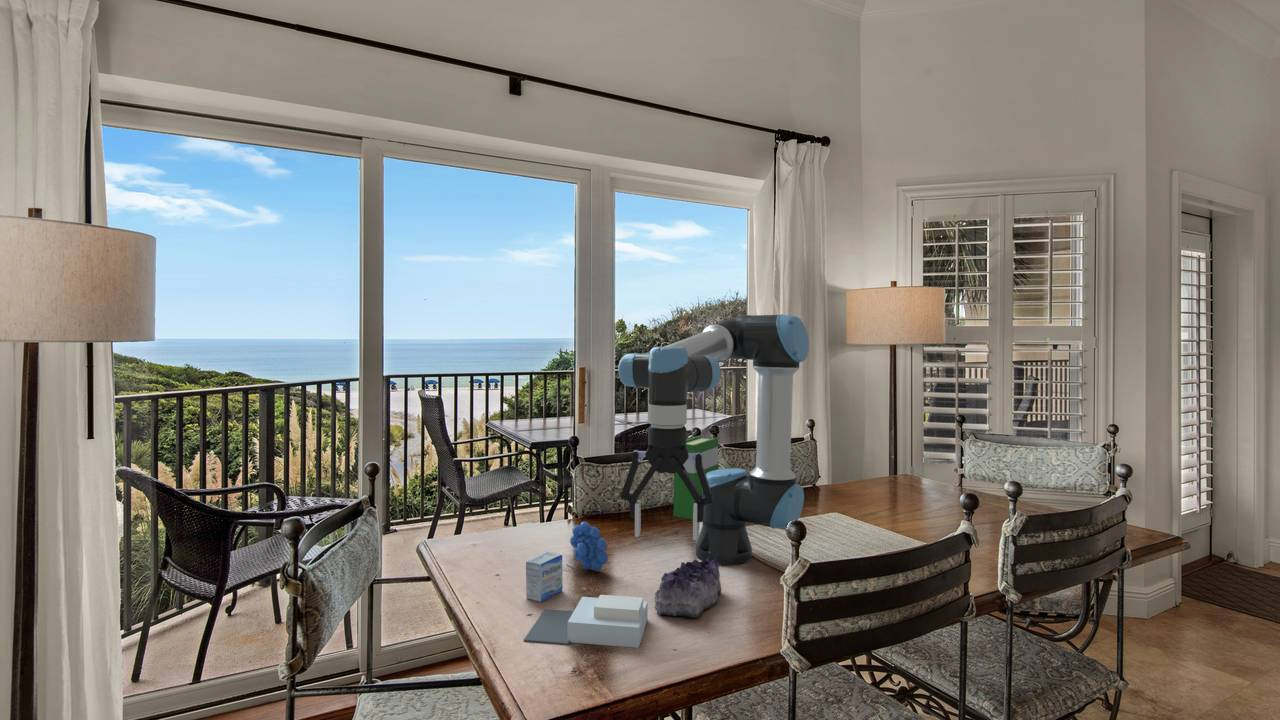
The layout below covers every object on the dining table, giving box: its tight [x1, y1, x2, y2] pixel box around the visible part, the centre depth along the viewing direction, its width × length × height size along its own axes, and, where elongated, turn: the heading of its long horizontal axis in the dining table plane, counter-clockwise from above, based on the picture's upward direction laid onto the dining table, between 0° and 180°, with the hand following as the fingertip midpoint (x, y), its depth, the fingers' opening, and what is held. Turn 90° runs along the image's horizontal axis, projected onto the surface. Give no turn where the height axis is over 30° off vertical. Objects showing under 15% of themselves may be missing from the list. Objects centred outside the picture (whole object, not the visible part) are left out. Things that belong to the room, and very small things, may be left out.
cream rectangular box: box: [594, 594, 644, 620], centre depth 130 cm, size 9×6×2 cm, turn 82°
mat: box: [523, 608, 574, 646], centre depth 132 cm, size 9×14×1 cm, turn 172°
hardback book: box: [673, 435, 719, 521], centre depth 216 cm, size 18×7×24 cm, turn 148°
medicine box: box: [525, 551, 564, 603], centre depth 148 cm, size 8×4×9 cm, turn 148°
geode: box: [654, 557, 722, 619], centre depth 144 cm, size 20×12×10 cm, turn 149°
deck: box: [568, 596, 649, 649], centre depth 130 cm, size 14×12×4 cm
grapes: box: [569, 521, 609, 572], centre depth 163 cm, size 12×7×12 cm, turn 56°
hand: (666, 536), depth 128 cm, fingers open, 11 cm apart
